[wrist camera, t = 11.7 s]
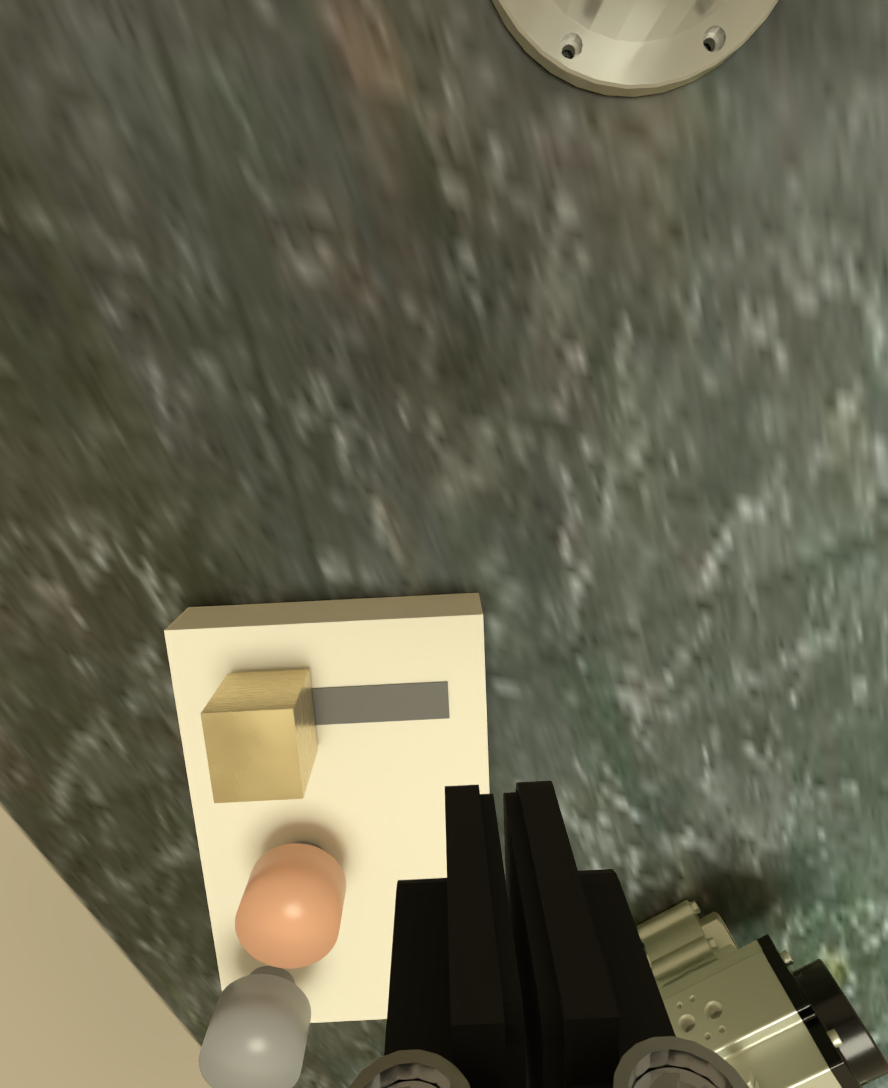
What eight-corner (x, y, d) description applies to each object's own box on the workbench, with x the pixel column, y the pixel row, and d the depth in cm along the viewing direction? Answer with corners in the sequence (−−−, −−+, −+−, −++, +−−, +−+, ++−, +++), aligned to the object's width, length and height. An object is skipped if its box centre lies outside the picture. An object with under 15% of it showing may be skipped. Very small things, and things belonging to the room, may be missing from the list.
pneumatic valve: (787, 910, 38) (945, 1153, 26) (603, 1005, 39) (676, 1274, 27) (742, 839, 36) (888, 1059, 25) (554, 938, 38) (608, 1191, 26)
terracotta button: (346, 820, 32) (334, 879, 28) (353, 899, 33) (343, 965, 29) (252, 825, 32) (228, 885, 28) (262, 903, 33) (241, 970, 29)
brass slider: (309, 669, 30) (292, 708, 26) (318, 750, 31) (303, 798, 27) (227, 673, 30) (200, 713, 26) (239, 754, 31) (214, 803, 27)
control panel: (478, 592, 33) (483, 615, 30) (492, 964, 38) (497, 1014, 35) (188, 607, 33) (163, 631, 30) (243, 976, 38) (227, 1028, 35)
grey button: (311, 946, 32) (296, 1020, 29) (320, 1019, 33) (306, 1099, 30) (219, 950, 32) (191, 1025, 29) (231, 1023, 33) (206, 1104, 30)
